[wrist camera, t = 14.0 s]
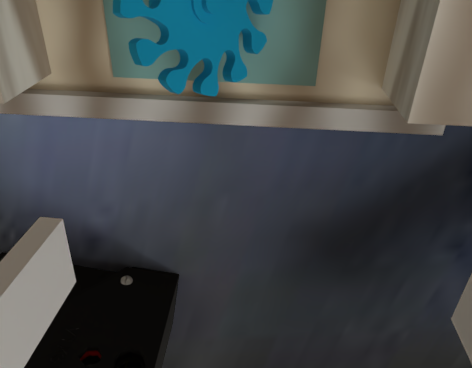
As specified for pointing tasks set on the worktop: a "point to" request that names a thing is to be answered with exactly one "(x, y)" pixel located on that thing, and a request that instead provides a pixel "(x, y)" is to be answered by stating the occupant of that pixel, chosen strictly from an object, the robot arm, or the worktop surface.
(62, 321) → the electrical component
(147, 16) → the gear
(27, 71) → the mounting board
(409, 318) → the worktop surface
